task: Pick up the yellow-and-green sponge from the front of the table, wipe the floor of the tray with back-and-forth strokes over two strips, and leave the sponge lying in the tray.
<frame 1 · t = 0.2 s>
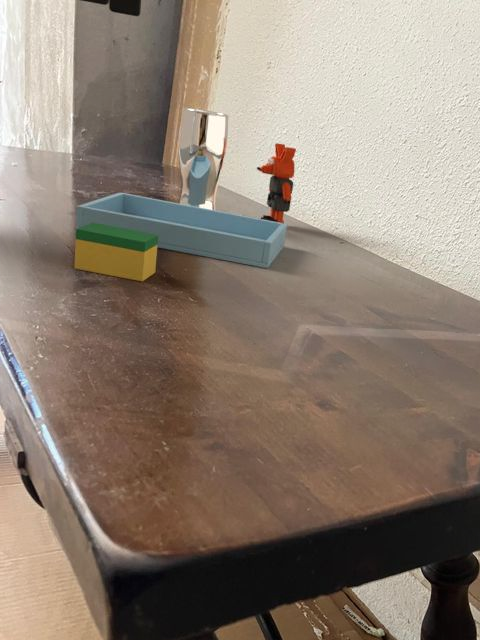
hand: (108, 8, 74), 24 cm above the table, tool pointing down, fingers open, 9 cm apart
toy animal: (266, 225, 118), on the table
beer glass: (195, 219, 113), on the table
tray: (187, 239, 97), on the table
sponge: (115, 270, 77), on the table
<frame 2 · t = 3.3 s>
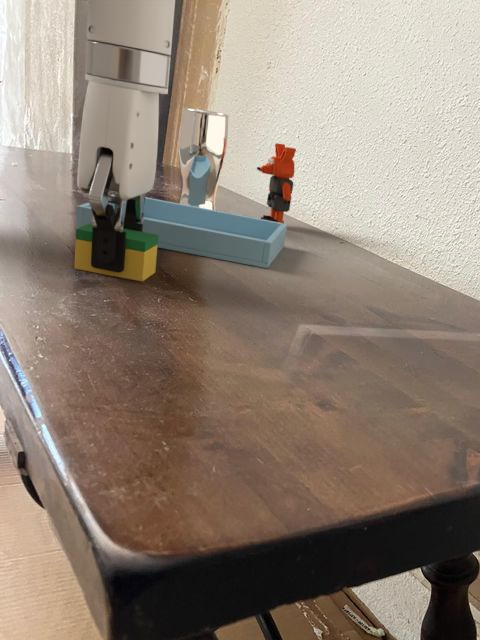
hand: (116, 262, 76), 1 cm above the table, tool pointing down, fingers closed on sponge, 4 cm apart
sponge: (115, 270, 77), on the table, touching gripper
everything else where it was.
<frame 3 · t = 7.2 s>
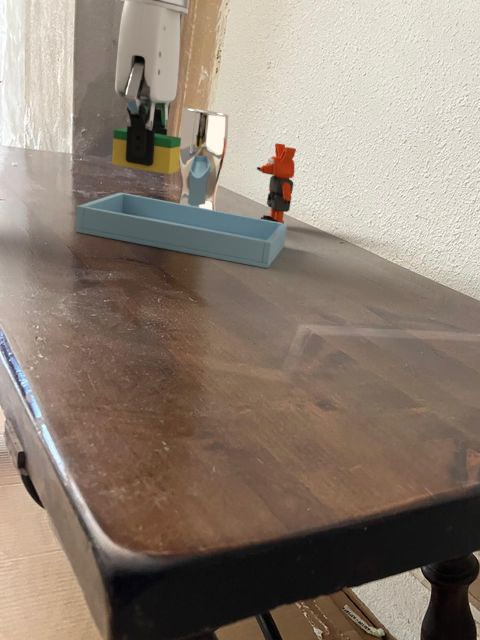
hand: (145, 160, 92), 9 cm above the table, tool pointing down, fingers closed on sponge, 4 cm apart
sponge: (146, 168, 92), point 8 cm above the table, touching gripper
everything else where it was.
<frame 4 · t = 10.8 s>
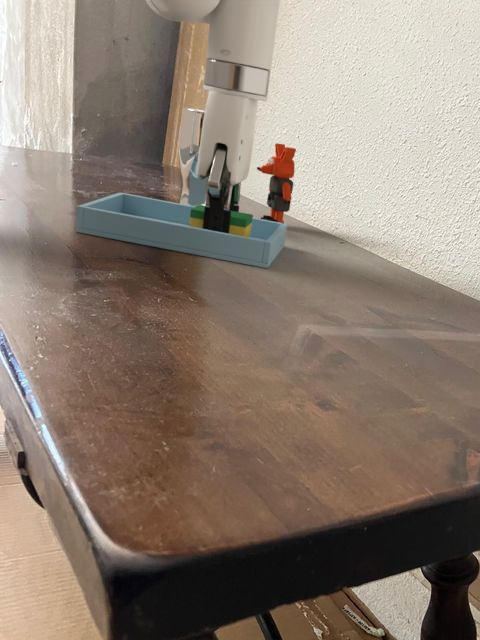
hand: (219, 236, 94), 2 cm above the table, tool pointing down, fingers closed on sponge, 4 cm apart
sponge: (218, 243, 95), point 1 cm above the table, touching gripper
everything else where it was.
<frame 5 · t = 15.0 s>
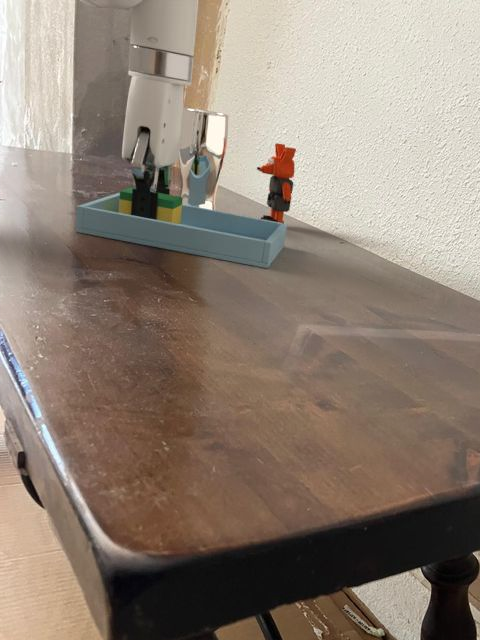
hand: (149, 218, 98), 2 cm above the table, tool pointing down, fingers closed on sponge, 4 cm apart
sponge: (149, 225, 98), point 1 cm above the table, touching gripper
everything else where it was.
when the fingers open (1 cm above the table, at t = 18.6 s): sponge stays where it is, resting on tray.
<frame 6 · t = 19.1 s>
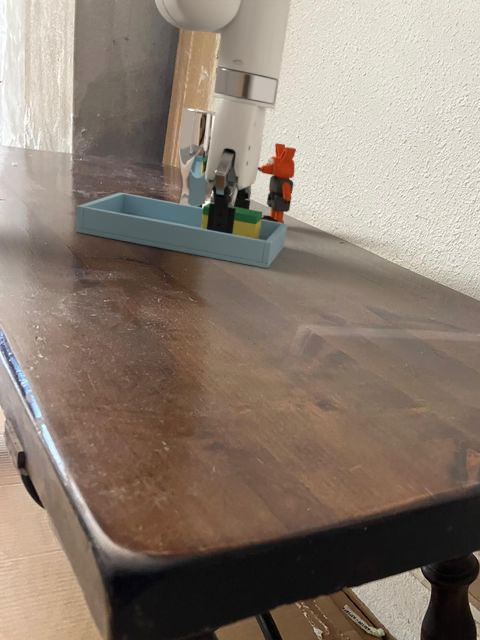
hand: (226, 232, 97), 2 cm above the table, tool pointing down, fingers open, 8 cm apart
sponge: (229, 239, 98), point 1 cm above the table, touching tray
everything else where it was.
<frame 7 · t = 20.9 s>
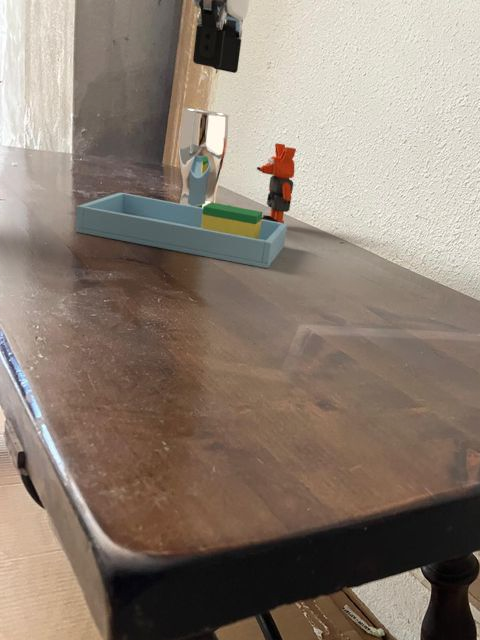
hand: (216, 68, 92), 21 cm above the table, tool pointing down, fingers open, 9 cm apart
nothing on the table moved.
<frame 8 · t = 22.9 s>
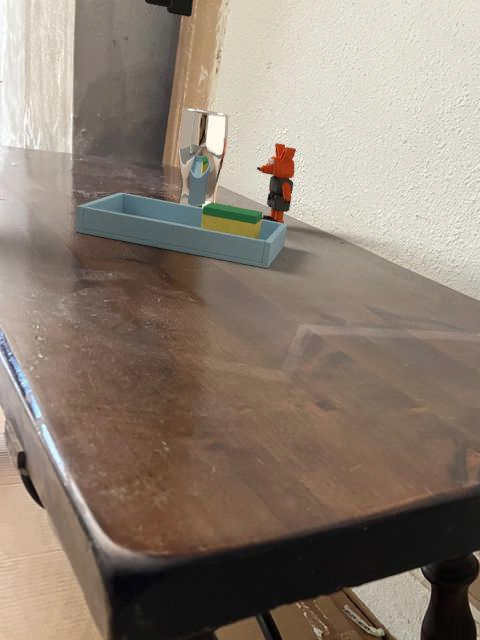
hand: (169, 10, 94), 26 cm above the table, tool pointing down, fingers open, 9 cm apart
nothing on the table moved.
at the end: sponge inside the target area in the tray (5.5 cm from its centre), point 0.6 cm above the tray's base; the gripper is holding nothing; sponge moved 25.1 cm from its start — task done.
